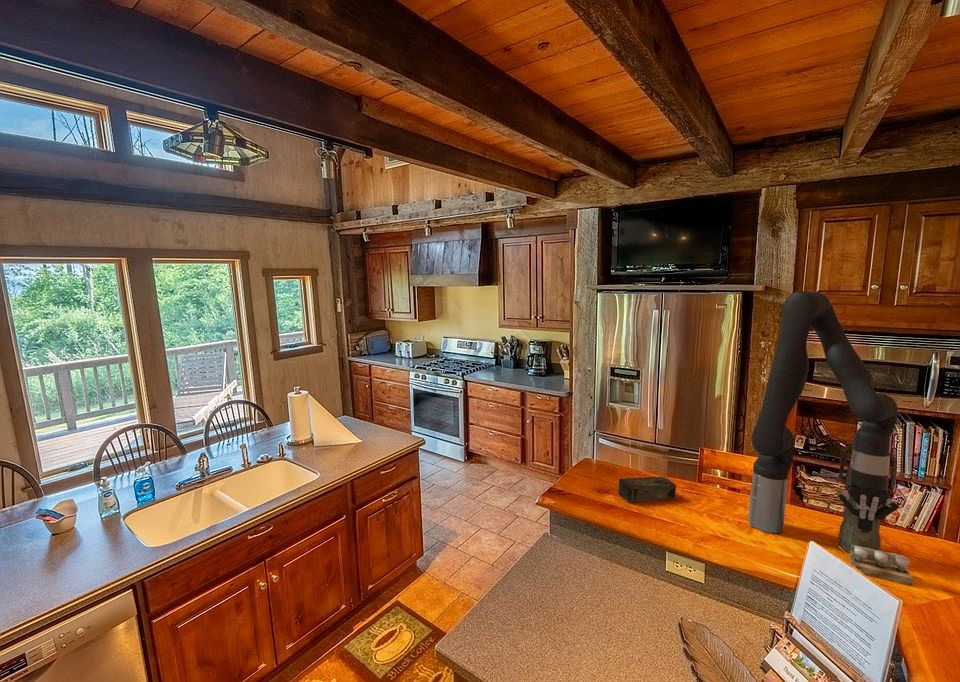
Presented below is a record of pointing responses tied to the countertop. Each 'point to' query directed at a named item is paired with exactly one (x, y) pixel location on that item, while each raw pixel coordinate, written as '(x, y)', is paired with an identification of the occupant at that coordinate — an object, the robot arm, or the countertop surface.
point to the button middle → (880, 558)
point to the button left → (860, 553)
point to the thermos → (848, 527)
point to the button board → (883, 573)
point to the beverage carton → (646, 489)
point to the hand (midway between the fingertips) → (864, 531)
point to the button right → (901, 563)
